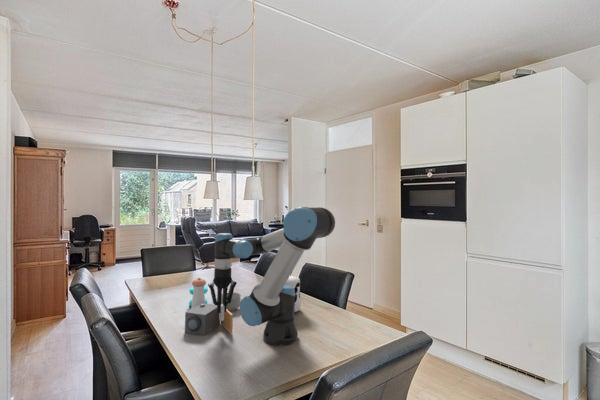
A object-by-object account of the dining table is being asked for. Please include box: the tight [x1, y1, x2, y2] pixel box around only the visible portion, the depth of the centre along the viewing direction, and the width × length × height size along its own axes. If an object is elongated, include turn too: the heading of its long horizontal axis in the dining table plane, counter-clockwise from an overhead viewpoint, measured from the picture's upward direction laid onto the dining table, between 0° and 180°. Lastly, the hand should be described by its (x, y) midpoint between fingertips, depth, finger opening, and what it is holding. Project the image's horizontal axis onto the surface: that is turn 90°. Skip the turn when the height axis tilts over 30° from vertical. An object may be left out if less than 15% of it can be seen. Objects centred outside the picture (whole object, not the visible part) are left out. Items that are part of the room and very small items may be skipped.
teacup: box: [221, 291, 241, 312], centre depth 175 cm, size 14×11×8 cm
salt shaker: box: [190, 277, 207, 310], centre depth 165 cm, size 7×7×19 cm
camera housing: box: [184, 303, 221, 336], centre depth 146 cm, size 10×16×10 cm, turn 166°
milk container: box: [285, 275, 302, 314], centre depth 173 cm, size 17×17×18 cm
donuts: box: [188, 286, 208, 308], centre depth 179 cm, size 10×10×10 cm
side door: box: [220, 309, 234, 334], centre depth 147 cm, size 1×15×8 cm, turn 31°
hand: (221, 319), depth 142 cm, fingers closed
